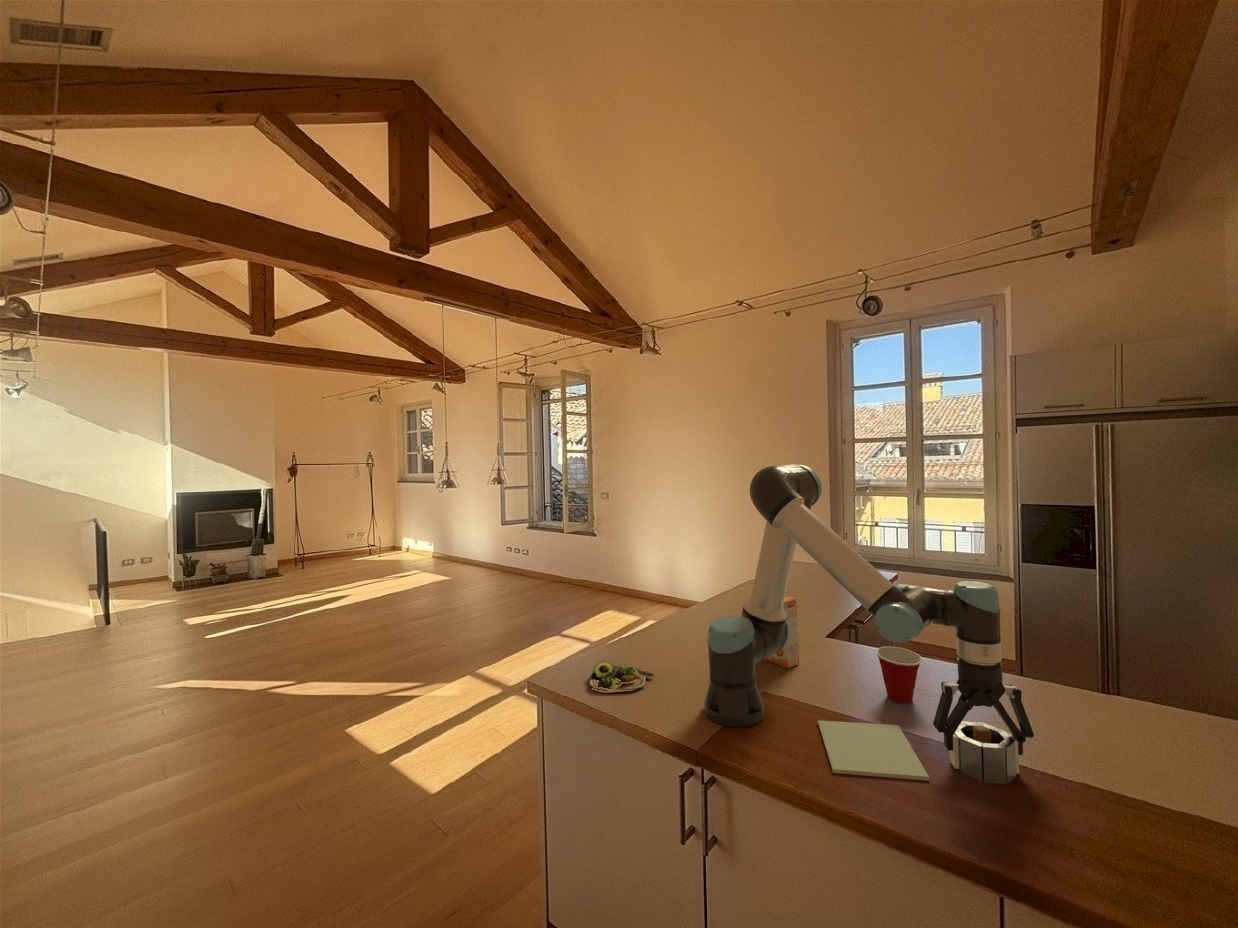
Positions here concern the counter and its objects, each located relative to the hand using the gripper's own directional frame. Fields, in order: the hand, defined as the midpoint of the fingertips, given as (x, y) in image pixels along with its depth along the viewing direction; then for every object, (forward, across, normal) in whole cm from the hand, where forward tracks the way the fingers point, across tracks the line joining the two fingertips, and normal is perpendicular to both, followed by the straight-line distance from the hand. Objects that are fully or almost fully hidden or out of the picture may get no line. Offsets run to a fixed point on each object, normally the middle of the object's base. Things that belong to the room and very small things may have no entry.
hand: (983, 767), depth 107 cm
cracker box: (0, -37, +53) cm, 65 cm away
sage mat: (0, -21, +4) cm, 21 cm away
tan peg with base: (0, 0, 0) cm, 0 cm away
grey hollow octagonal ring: (0, 0, 0) cm, 0 cm away
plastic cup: (0, -7, +30) cm, 31 cm away
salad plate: (+1, -85, +32) cm, 91 cm away
